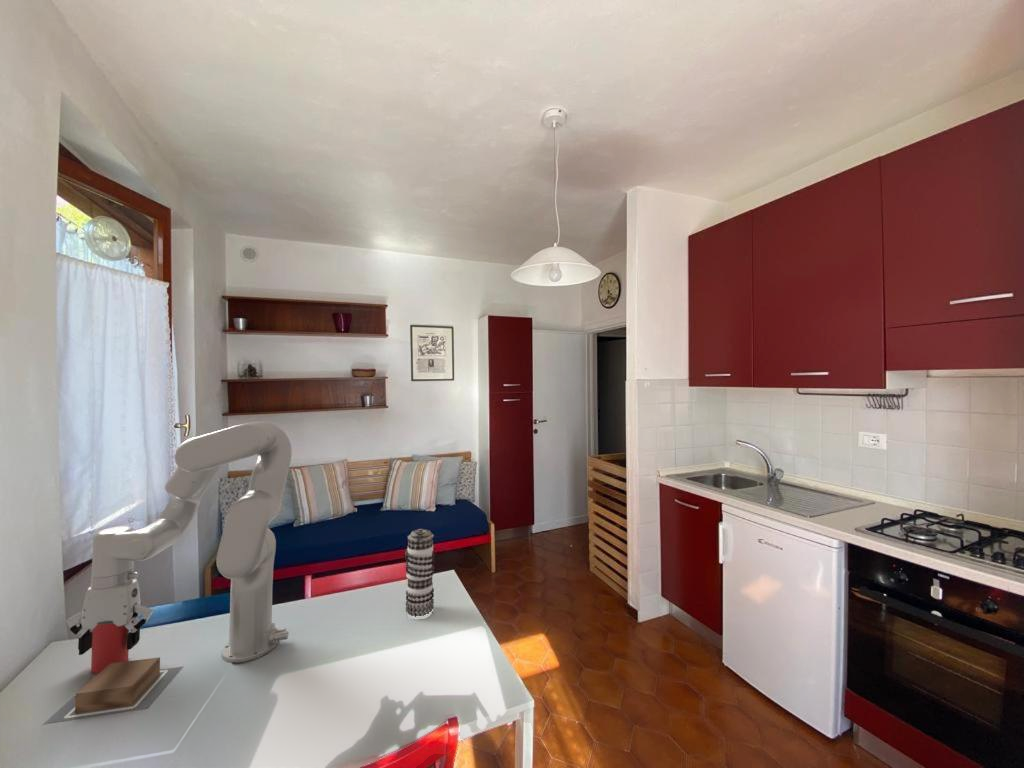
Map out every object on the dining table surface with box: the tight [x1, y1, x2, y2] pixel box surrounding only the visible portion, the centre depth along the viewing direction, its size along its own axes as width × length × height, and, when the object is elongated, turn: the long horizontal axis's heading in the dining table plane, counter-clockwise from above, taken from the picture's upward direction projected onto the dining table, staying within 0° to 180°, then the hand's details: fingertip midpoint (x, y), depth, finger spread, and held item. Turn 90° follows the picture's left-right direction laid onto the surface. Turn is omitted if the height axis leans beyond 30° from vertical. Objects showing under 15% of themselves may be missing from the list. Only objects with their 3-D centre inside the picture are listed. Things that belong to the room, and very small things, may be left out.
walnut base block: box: [75, 656, 161, 713], centre depth 92 cm, size 10×10×4 cm
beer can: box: [90, 621, 130, 674], centre depth 102 cm, size 7×7×12 cm
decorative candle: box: [404, 528, 436, 617], centre depth 127 cm, size 9×9×25 cm
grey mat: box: [43, 666, 184, 725], centre depth 92 cm, size 18×14×1 cm
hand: (109, 648), depth 101 cm, fingers open, 9 cm apart
